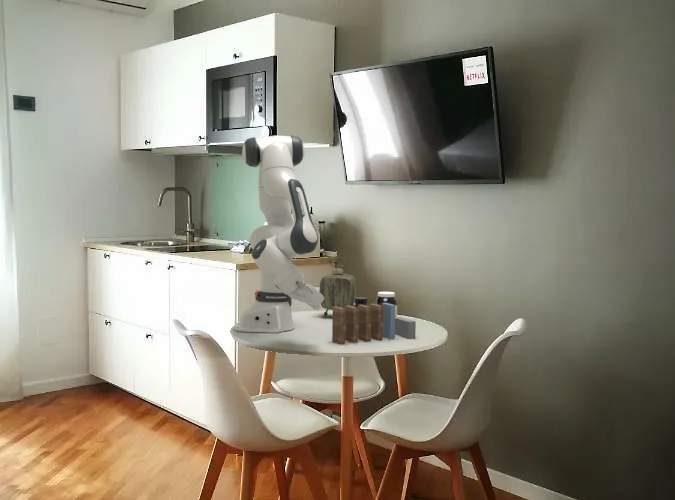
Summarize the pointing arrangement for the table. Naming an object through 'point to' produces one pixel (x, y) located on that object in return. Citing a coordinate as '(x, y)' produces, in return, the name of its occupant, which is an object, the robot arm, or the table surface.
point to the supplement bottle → (360, 301)
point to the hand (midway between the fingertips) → (317, 308)
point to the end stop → (405, 327)
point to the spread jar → (387, 299)
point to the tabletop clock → (337, 288)
